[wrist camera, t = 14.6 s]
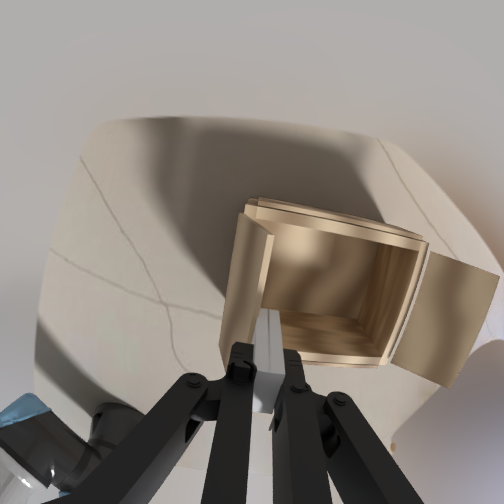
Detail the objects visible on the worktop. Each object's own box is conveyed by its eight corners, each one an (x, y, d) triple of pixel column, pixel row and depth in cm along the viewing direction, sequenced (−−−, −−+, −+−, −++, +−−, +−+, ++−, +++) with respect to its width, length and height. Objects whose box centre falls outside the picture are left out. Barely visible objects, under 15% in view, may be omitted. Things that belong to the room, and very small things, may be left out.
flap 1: (222, 345, 26) (218, 345, 26) (243, 213, 23) (239, 212, 22) (239, 404, 18) (234, 404, 18) (274, 235, 15) (267, 234, 15)
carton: (230, 309, 36) (221, 353, 26) (250, 193, 32) (246, 198, 23) (358, 327, 36) (384, 368, 27) (388, 222, 33) (430, 238, 23)
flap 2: (449, 389, 21) (450, 387, 21) (499, 276, 18) (499, 276, 18) (390, 362, 26) (391, 361, 26) (430, 251, 23) (431, 251, 23)
